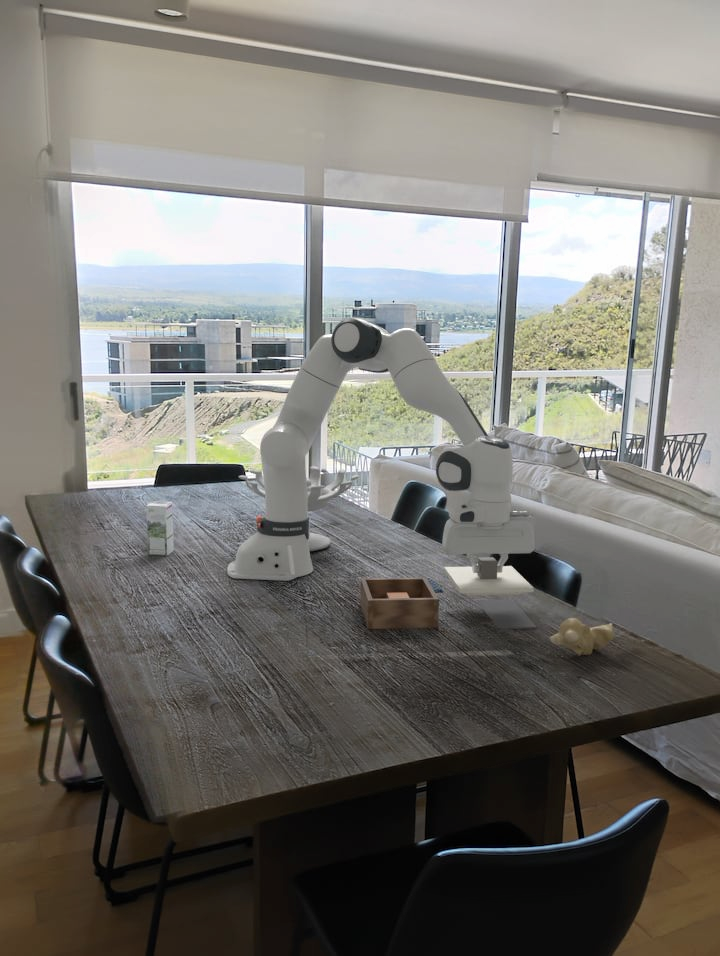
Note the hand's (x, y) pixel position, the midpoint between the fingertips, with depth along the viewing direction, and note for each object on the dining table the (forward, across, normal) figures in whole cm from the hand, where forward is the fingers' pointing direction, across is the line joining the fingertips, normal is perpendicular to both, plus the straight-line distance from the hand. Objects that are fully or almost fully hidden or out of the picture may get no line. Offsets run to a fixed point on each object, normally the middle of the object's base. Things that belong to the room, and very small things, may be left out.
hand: (487, 572), depth 173 cm
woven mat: (+11, +12, -18) cm, 24 cm away
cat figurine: (+10, -13, +22) cm, 28 cm away
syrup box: (+10, +79, -54) cm, 96 cm away
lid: (+3, 0, 0) cm, 3 cm away
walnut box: (+10, +20, +2) cm, 22 cm away
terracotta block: (+9, +20, +2) cm, 22 cm away
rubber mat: (+10, 0, 0) cm, 10 cm away
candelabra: (+10, +40, -61) cm, 74 cm away
